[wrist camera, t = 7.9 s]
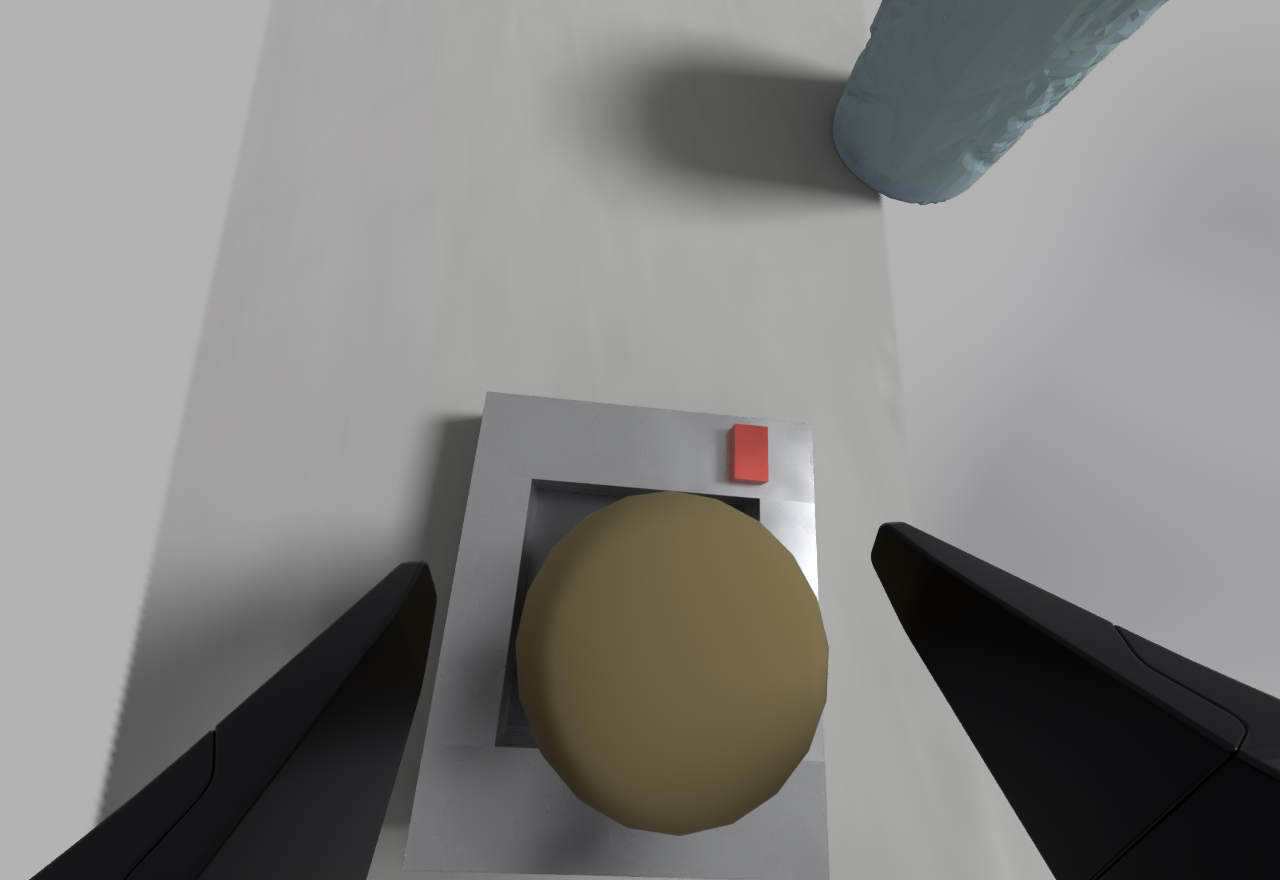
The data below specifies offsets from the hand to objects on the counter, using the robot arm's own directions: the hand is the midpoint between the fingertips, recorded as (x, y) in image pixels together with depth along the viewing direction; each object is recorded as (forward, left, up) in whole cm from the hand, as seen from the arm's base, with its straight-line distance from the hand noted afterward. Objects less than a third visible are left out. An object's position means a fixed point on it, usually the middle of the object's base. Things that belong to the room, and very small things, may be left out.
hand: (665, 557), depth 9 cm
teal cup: (+24, -13, -9) cm, 29 cm away
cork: (-1, 0, -9) cm, 9 cm away
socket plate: (-1, 0, -9) cm, 9 cm away
